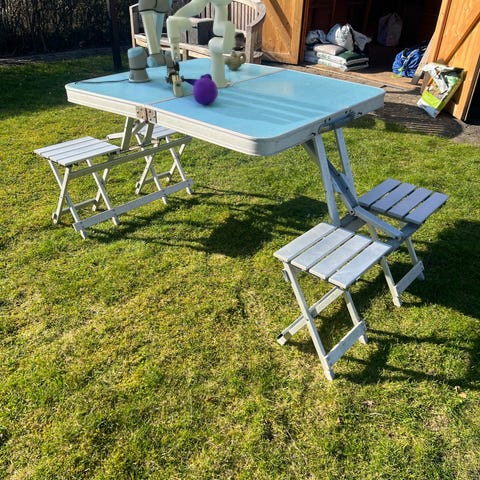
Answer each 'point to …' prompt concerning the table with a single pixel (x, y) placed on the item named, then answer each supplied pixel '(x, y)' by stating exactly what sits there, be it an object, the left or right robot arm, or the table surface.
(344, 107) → the table surface
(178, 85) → the cream suitcase
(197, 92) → the toy
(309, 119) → the table surface
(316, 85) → the table surface
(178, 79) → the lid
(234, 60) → the teapot
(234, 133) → the table surface
